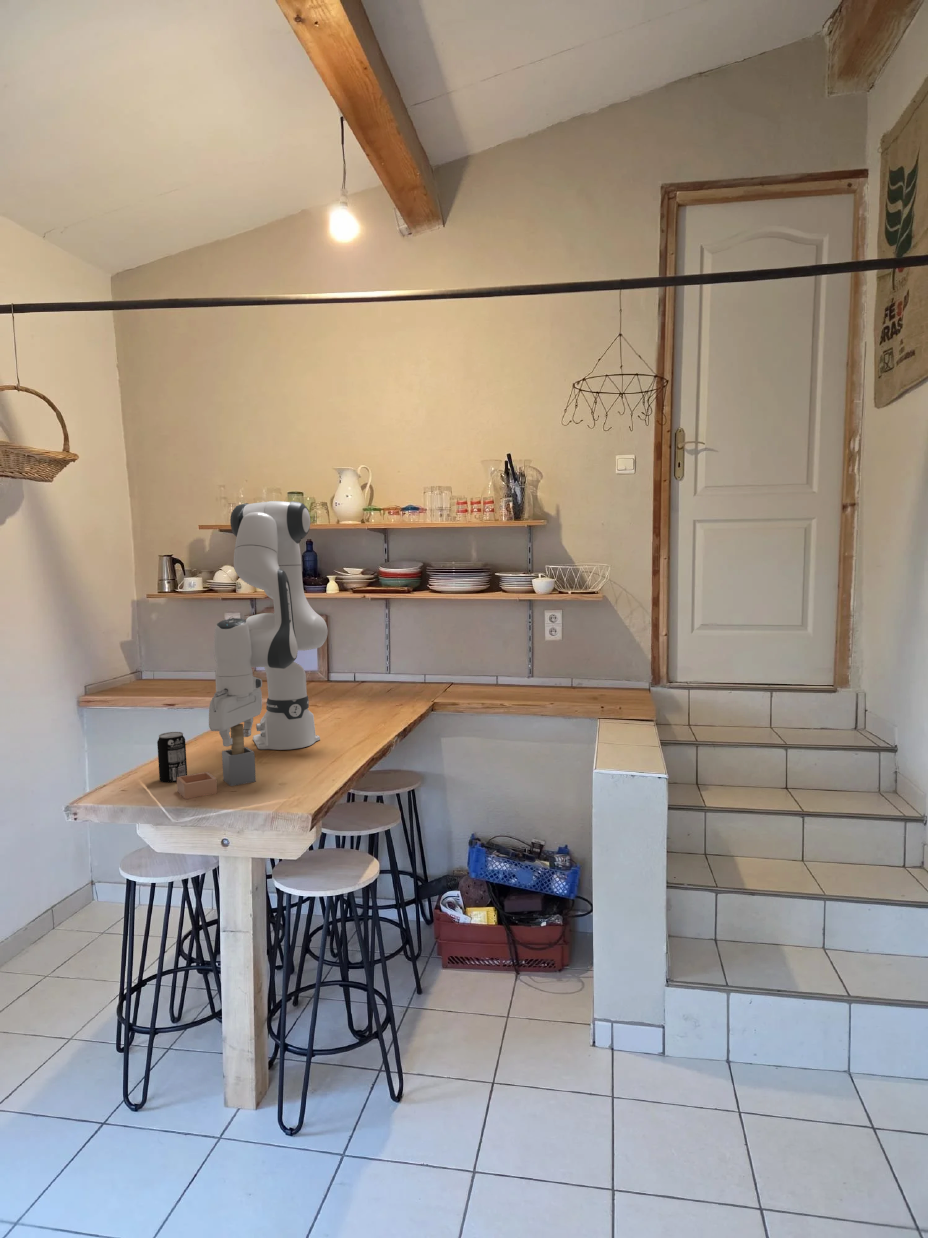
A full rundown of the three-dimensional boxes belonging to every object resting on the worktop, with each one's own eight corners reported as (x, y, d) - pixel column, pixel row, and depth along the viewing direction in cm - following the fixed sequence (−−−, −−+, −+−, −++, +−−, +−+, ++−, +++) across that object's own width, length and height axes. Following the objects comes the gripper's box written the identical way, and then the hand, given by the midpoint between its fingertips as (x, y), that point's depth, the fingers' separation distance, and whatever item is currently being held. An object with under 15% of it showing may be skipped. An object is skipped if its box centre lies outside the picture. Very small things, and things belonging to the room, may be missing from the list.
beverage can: (166, 777, 202) (163, 731, 201) (191, 777, 202) (188, 731, 201) (155, 785, 195) (152, 737, 194) (181, 785, 195) (178, 737, 194)
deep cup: (223, 782, 196) (221, 750, 196) (248, 778, 200) (246, 747, 199) (230, 788, 191) (229, 756, 190) (255, 783, 194) (254, 752, 194)
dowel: (231, 780, 196) (228, 724, 194) (243, 778, 197) (240, 723, 196) (235, 783, 193) (232, 727, 192) (247, 781, 195) (244, 725, 194)
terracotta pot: (177, 793, 188) (176, 777, 188) (208, 787, 192) (208, 771, 192) (184, 801, 182) (184, 784, 181) (217, 795, 186) (216, 778, 185)
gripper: (224, 693, 182) (227, 752, 184) (265, 678, 202) (267, 731, 203) (200, 693, 184) (203, 751, 185) (242, 678, 204) (245, 731, 205)
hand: (237, 741), depth 194 cm, fingers open, 8 cm apart
